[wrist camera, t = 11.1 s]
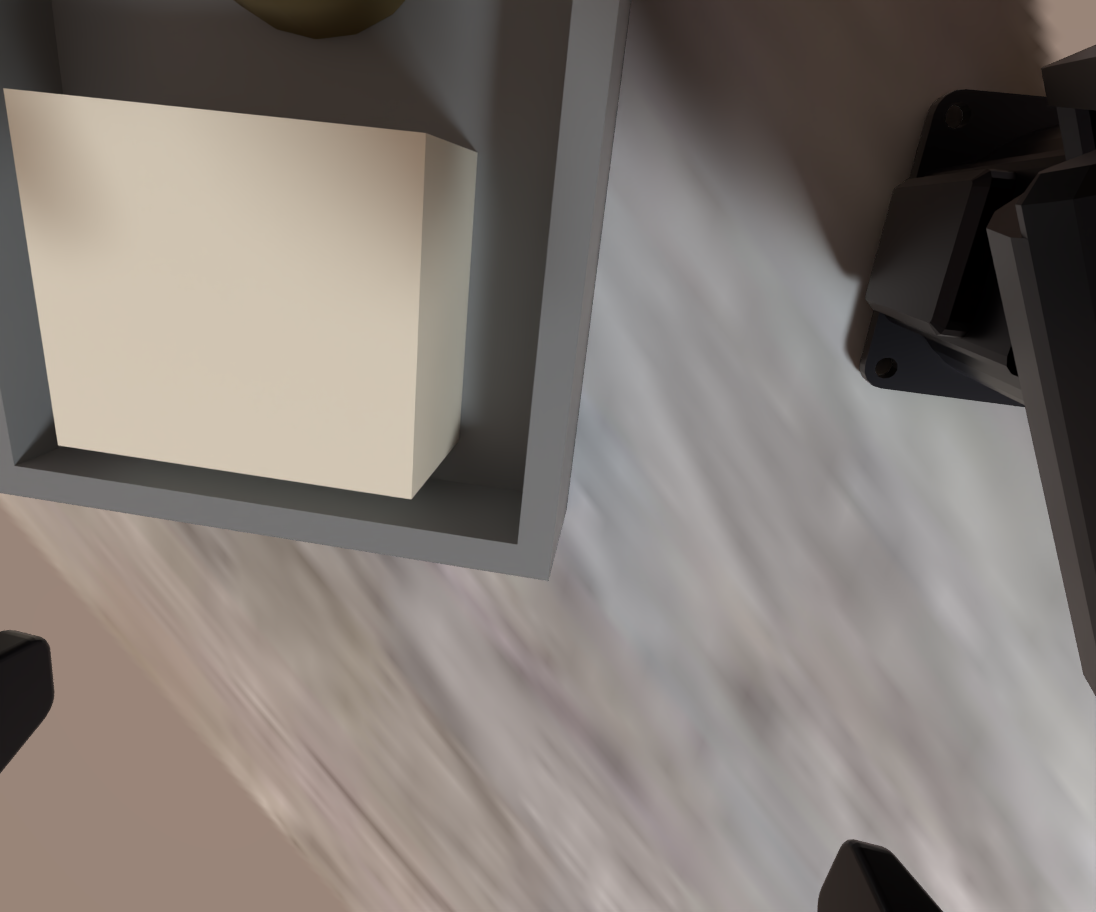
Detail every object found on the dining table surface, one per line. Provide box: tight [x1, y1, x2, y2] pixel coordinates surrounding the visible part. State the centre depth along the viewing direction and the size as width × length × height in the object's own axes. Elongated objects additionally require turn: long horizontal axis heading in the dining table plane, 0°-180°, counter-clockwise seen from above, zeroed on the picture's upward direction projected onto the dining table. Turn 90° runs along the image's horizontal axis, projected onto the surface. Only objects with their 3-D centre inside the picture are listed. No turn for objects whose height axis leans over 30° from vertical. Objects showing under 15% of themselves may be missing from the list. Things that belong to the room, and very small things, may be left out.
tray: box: [0, 0, 631, 581], centre depth 15 cm, size 14×20×4 cm
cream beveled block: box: [3, 88, 478, 499], centre depth 15 cm, size 8×7×4 cm
